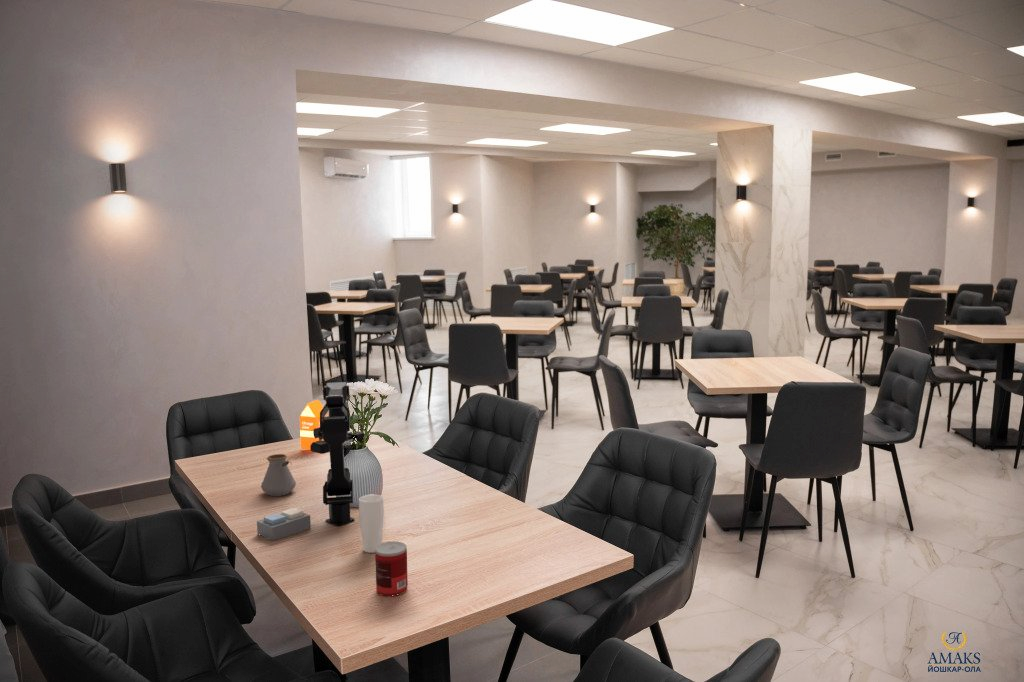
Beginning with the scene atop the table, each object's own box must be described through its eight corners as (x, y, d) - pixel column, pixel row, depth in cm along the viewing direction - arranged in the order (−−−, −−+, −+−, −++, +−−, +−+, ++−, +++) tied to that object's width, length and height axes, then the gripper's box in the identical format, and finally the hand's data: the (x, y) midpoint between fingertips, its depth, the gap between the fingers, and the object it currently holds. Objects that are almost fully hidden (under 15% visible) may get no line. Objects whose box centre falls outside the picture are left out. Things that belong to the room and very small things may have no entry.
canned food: (409, 582, 192) (408, 540, 190) (405, 596, 184) (404, 553, 182) (378, 582, 191) (377, 541, 190) (374, 597, 183) (372, 554, 182)
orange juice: (300, 450, 315) (298, 403, 312) (312, 445, 323) (310, 399, 321) (316, 451, 312) (315, 404, 310) (328, 446, 321) (326, 400, 318)
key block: (310, 527, 229) (310, 515, 228) (272, 540, 219) (272, 527, 218) (295, 521, 234) (294, 509, 233) (257, 534, 224) (256, 521, 223)
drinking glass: (379, 555, 208) (377, 502, 206) (356, 553, 209) (354, 501, 207) (388, 546, 215) (386, 494, 213) (365, 544, 216) (364, 493, 214)
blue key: (286, 529, 224) (285, 516, 224) (273, 533, 221) (272, 520, 220) (277, 525, 227) (277, 513, 226) (264, 530, 224) (263, 517, 223)
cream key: (303, 523, 229) (302, 511, 228) (290, 527, 225) (290, 515, 225) (294, 520, 231) (294, 507, 231) (282, 524, 228) (281, 511, 228)
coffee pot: (258, 490, 263) (256, 449, 261) (291, 485, 269) (289, 444, 267) (272, 509, 245) (270, 464, 243) (307, 503, 251) (306, 459, 249)
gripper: (344, 411, 255) (345, 456, 257) (298, 422, 240) (300, 470, 242) (366, 416, 248) (368, 462, 250) (320, 428, 234) (322, 477, 236)
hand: (339, 467), depth 245 cm, fingers closed
